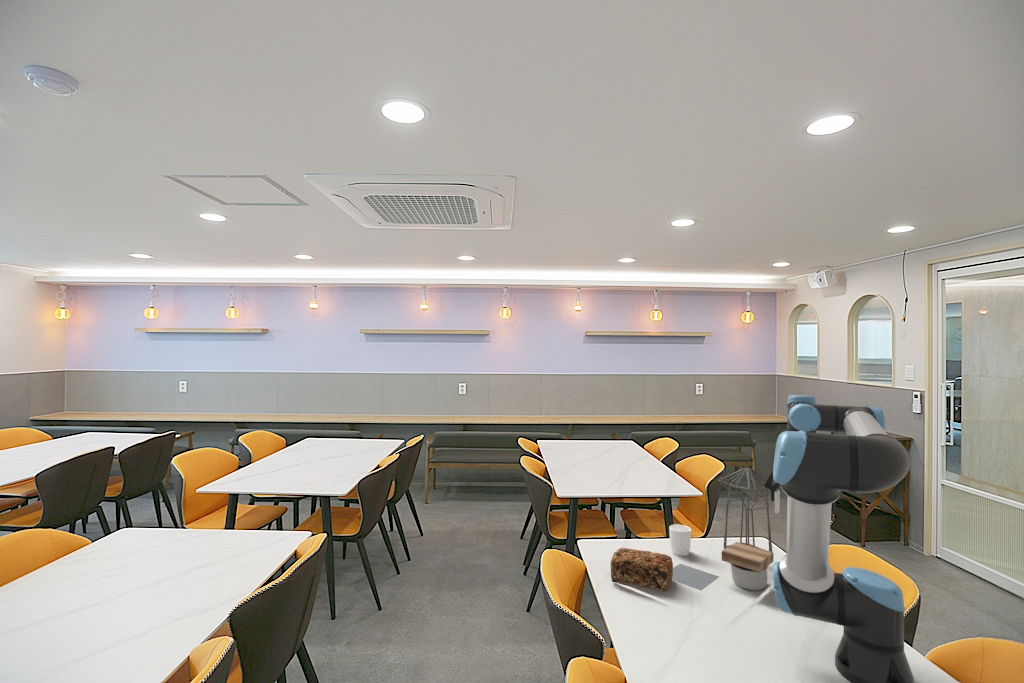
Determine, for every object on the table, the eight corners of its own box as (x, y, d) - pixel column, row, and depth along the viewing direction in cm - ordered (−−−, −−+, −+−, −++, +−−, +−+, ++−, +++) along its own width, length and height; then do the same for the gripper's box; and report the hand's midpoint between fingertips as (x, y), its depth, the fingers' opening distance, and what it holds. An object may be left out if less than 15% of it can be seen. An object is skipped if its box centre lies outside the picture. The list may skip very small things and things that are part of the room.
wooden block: (759, 572, 153) (759, 562, 153) (721, 560, 162) (721, 551, 162) (773, 561, 162) (773, 552, 162) (736, 550, 170) (736, 541, 170)
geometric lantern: (752, 577, 167) (752, 474, 168) (714, 559, 181) (714, 464, 182) (781, 568, 175) (781, 469, 175) (743, 552, 188) (743, 461, 189)
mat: (701, 593, 155) (701, 590, 155) (660, 578, 165) (660, 575, 165) (719, 579, 165) (719, 576, 165) (680, 566, 175) (680, 563, 175)
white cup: (664, 552, 188) (664, 525, 188) (680, 549, 191) (680, 523, 191) (679, 560, 181) (679, 532, 181) (695, 556, 184) (695, 529, 184)
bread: (673, 583, 163) (673, 552, 163) (666, 596, 153) (667, 564, 154) (618, 570, 172) (618, 541, 172) (609, 582, 162) (609, 552, 163)
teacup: (771, 597, 154) (771, 571, 154) (734, 593, 156) (734, 568, 156) (758, 577, 167) (758, 554, 167) (725, 574, 169) (725, 551, 170)
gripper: (853, 450, 142) (854, 524, 141) (761, 440, 159) (761, 506, 158) (848, 453, 137) (849, 530, 136) (753, 442, 154) (753, 510, 153)
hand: (802, 517), depth 147 cm, fingers open, 13 cm apart
